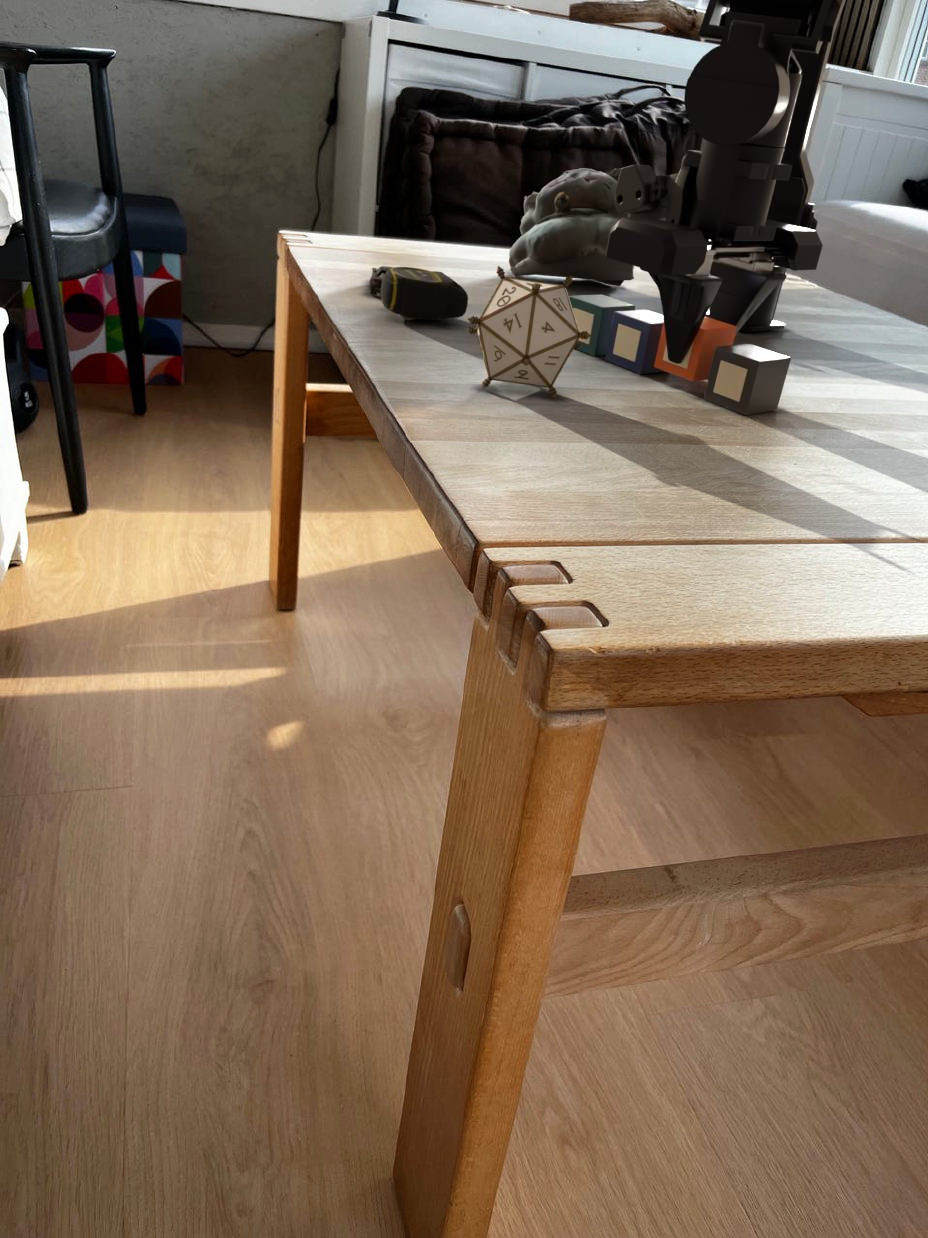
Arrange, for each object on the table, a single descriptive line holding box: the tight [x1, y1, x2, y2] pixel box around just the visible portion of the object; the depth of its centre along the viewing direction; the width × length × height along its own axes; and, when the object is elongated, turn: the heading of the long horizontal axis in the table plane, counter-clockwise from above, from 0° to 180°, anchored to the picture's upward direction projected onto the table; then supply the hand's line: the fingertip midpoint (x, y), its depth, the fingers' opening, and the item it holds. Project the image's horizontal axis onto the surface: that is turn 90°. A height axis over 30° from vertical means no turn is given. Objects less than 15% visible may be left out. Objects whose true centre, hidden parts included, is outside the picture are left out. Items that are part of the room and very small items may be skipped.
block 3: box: [703, 343, 792, 416], centre depth 77 cm, size 4×4×4 cm
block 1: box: [568, 293, 636, 357], centre depth 87 cm, size 4×4×4 cm
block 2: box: [604, 308, 664, 375], centre depth 83 cm, size 4×4×4 cm
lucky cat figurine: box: [508, 167, 635, 287], centre depth 112 cm, size 15×12×14 cm
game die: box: [466, 265, 591, 399], centre depth 72 cm, size 9×8×10 cm
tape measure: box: [380, 266, 469, 321], centre depth 88 cm, size 7×7×4 cm
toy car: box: [369, 265, 395, 296], centre depth 97 cm, size 8×3×2 cm, turn 1°
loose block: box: [654, 316, 737, 383], centre depth 80 cm, size 4×4×4 cm
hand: (692, 360), depth 80 cm, fingers closed on loose block, 4 cm apart
